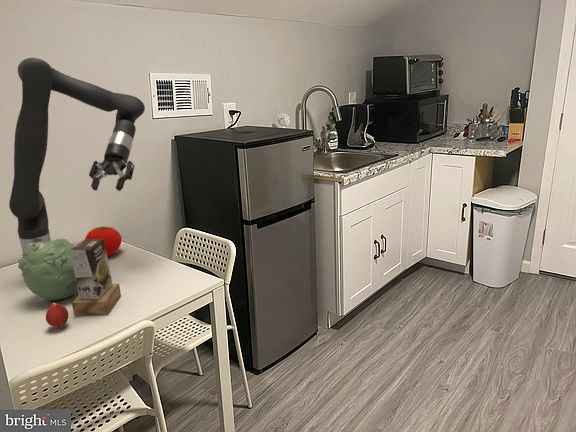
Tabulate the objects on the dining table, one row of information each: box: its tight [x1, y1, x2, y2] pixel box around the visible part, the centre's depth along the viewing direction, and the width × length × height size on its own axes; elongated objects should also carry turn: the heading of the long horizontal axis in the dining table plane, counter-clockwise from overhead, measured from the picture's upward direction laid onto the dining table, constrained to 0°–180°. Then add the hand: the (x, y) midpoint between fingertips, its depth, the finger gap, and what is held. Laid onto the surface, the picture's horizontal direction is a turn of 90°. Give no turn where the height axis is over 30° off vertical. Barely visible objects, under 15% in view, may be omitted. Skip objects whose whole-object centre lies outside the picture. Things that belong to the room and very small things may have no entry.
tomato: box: [84, 225, 122, 258], centre depth 184 cm, size 13×14×12 cm
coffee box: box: [70, 238, 114, 300], centre depth 141 cm, size 9×6×16 cm
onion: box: [45, 302, 69, 329], centre depth 132 cm, size 6×6×8 cm
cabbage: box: [17, 238, 78, 301], centre depth 149 cm, size 16×19×20 cm
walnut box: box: [71, 283, 122, 318], centre depth 144 cm, size 10×12×5 cm
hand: (106, 189), depth 152 cm, fingers open, 8 cm apart
